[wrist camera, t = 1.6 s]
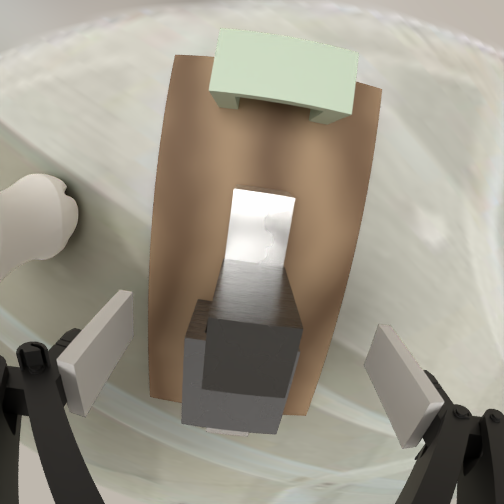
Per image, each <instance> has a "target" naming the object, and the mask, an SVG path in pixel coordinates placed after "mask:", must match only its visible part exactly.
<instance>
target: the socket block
mask: <svg viewBox="0 0 504 504" xmlns="http://www.w3.org/2000/svg"><path fill="white" fill-rule="evenodd" d="M358 56H359V53H358V52H354V51H351V50H347V49H343V48H339V47H335V46H331V45H327V44H323V43H318V42H314V41H309V40H304V39H299V38H294V37H288V36H282V35H276V34H270V33H263V32H255V31H246V30H237V29H226V28H220V32H219V37H218V42H217V47H216V52H215V58H214V63H213V68H212V74H211V79H210V85H209V92H210V94H211V95H212V97H213V99H214V100H215V102H216V103H217V105H218V107H220V108H229V109H237V110H238V107H239V100H240V97H242V98H250V99H257V100H264V101H271V102H277V103H283V104H288V105H294V106H299V107H305V108H310V116H309V121H311V122H316V123H321V124H326V125H328V124H330V123H332V122H335V121H337V120H340V119H342V118H345V117H347V116H350V115H352V109H353V101H354V93H355V84H356V75H357V66H358Z"/></svg>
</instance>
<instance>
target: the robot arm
mask: <svg viewBox="0 0 504 504" xmlns="http://www.w3.org/2000/svg"><path fill="white" fill-rule="evenodd" d="M133 337H134V329H133V292H131V291H126V290H119V291H118V292H117V293H116V294H115V295H114V296H113V297H112V298H111V299H110V300H109V301H108V302H107V303H106V305H105V306H104V307H103V308H102V309H101V310H100V311H99V312H98V313H97V314H96V315H95V316H94V318H93V319H92V320H91V321H90V322H89V323H88V324H87V325H86V326H85V327H84V329H83V330H80V329H76V328H74V329H72V330H70V331H68V332H66V333H65V334H64V335H63V336H62V337H61V338H60V340H58V341H57V342H56V345H54V346H53V347H52V348H51V349H50V350H49V351H48V349H47V347H46V346H45V345H44V344H42V343H39V342H27V343H24V344H22V345H21V346H19V348H18V349H17V352H16V355H17V358H18V362H19V366H20V367H12V366H7V363H6V360H5V359H4V357H2V356H1V355H0V504H19V499H18V498H19V496H18V461H19V460H18V459H19V441H20V428H21V417H22V415H24V416H29V418H30V423H31V427H32V431H33V435H34V439H35V443H36V447H37V450H38V454H39V457H40V460H41V464H42V467H43V470H44V473H45V476H46V479H47V482H48V485H49V488H50V490H51V493H52V496H53V498H54V501H55V504H105V503H104V501H103V499H102V497H101V495H100V494H99V491H98V490H97V487H96V485H95V483H94V481H93V479H92V477H91V475H90V473H89V471H88V469H87V466H86V464H85V462H84V460H83V457H82V455H81V453H80V450H79V448H78V445H77V443H76V440H75V438H74V435H73V433H72V430H71V427H70V425H69V422H68V419H67V416H66V413H65V410H64V406H65V404H66V403H67V405H68V408H69V412H71V413H74V414H77V415H80V416H83V417H86V416H87V414H88V412H89V410H90V409H91V407H92V405H93V403H94V402H95V400H96V398H97V397H98V395H99V393H100V391H101V390H102V388H103V386H104V385H105V383H106V381H107V380H108V378H109V376H110V375H111V373H112V371H113V370H114V368H115V366H116V365H117V363H118V361H119V360H120V358H121V356H122V355H123V353H124V351H125V350H126V348H127V347H128V345H129V343H130V342H131V340H132V339H133ZM364 367H365V369H366V371H367V373H368V375H369V377H370V379H371V381H372V383H373V385H374V388H375V390H376V392H377V394H378V396H379V398H380V400H381V403H382V405H383V407H384V409H385V411H386V413H387V416H388V418H389V420H390V422H391V424H392V427H393V429H394V431H395V433H396V436H397V438H398V440H399V442H400V445H401V447H402V449H404V448H411V447H416V446H417V445H418V444H419V442H420V441H421V439H422V438H423V439H424V441H425V445H424V446H423V448H422V449H421V451H420V452H419V453H418V455H417V456H416V457H415V460H417V461H416V463H415V465H414V467H413V470H412V472H411V474H410V476H409V478H408V480H407V482H406V484H405V486H404V488H403V490H402V492H401V494H400V496H399V498H398V499H397V501H396V503H395V504H450V502H451V499H452V496H453V493H454V490H455V487H456V484H457V504H504V415H503V414H502V412H500V411H499V410H495V409H488V410H486V412H485V413H484V415H483V416H482V417H477V416H472V414H471V413H470V411H469V410H468V409H467V408H465V407H464V406H461V405H458V404H453V403H452V401H451V400H450V398H449V397H448V396H447V394H446V393H445V391H444V390H443V389H442V387H441V386H440V384H438V381H437V380H436V379H435V377H434V376H433V375H432V374H431V373H429V372H428V371H427V370H423V369H422V368H421V367H420V365H419V364H418V362H417V361H416V360H415V358H414V357H413V355H412V354H411V353H410V351H409V350H408V348H407V347H406V346H405V344H404V343H403V342H402V340H401V339H400V337H399V336H398V335H397V333H396V332H395V331H394V329H393V328H392V327H391V325H383V324H378V327H377V330H376V333H375V336H374V339H373V341H372V344H371V347H370V350H369V353H368V355H367V358H366V361H365V363H364Z"/></svg>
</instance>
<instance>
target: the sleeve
mask: <svg viewBox="0 0 504 504" xmlns="http://www.w3.org/2000/svg"><path fill="white" fill-rule="evenodd" d="M211 304H212V301H208V300H201V299H198V300H197V303H196V306H195V309H194V312H193V315H192V317H191V320H190V323H189V326H188V329H187V332H186V335H185V340H184V359H183V384H182V424H187V425H193V426H200V427H206V428H214V429H222V430H230V431H240V432H250V433H263V434H277V430H278V427H279V424H280V421H281V418H282V414H283V411H284V408H285V404H286V401H287V398H288V394H289V391H290V387H291V384H292V380H293V377H294V373H295V370H296V366H297V363H298V359H299V355H300V348H299V349H298V353H297V356H296V360H295V364H294V367H293V371H292V375H291V378H290V382H289V386H288V389H287V393H286V396H285V398H276V397H263V396H253V395H243V394H234V393H226V392H218V391H211V390H204V389H202V379H203V367H204V356H205V345H206V334H207V324H208V316H209V312H210V308H211Z"/></svg>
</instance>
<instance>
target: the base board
mask: <svg viewBox="0 0 504 504" xmlns="http://www.w3.org/2000/svg"><path fill="white" fill-rule="evenodd" d="M214 58H215V57H208V56H192V55H175V58H174V63H173V68H172V73H171V79H170V84H169V90H168V95H167V101H166V107H165V113H164V120H163V127H162V134H161V141H160V148H159V156H158V165H157V173H156V183H155V193H154V204H153V216H152V229H151V245H150V264H149V295H148V353H149V383H150V397H153V398H158V399H163V400H169V401H174V402H180V403H182V384H183V359H184V340H185V335H186V332H187V329H188V326H189V323H190V320H191V317H192V315H193V312H194V309H195V306H196V303H197V300H198V299H201V300H208V301H212V300H213V296H214V292H215V288H216V284H217V280H218V276H219V273H220V269H221V265H222V261H223V258H224V259H225V253H226V245H227V237H228V230H229V222H230V215H231V207H232V200H233V193H234V188H235V186H236V184H239V185H246V186H253V187H260V188H267V189H273V190H280V191H286V192H289V193H290V194H291V195H292V196H294V197H295V203H294V209H293V215H292V220H291V226H290V232H289V237H288V243H287V248H286V254H285V259H284V265H283V267H285V270H286V273H287V276H288V279H289V283H290V286H291V289H292V292H293V296H294V299H295V302H296V305H297V309H298V312H299V315H300V319H301V322H302V325H303V333H302V337H301V341H300V345H299V348H300V355H299V359H298V363H297V366H296V370H295V373H294V377H293V380H292V384H291V387H290V391H289V394H288V398H287V401H286V404H285V408H284V411H283V414H282V415H303V416H306V414H307V411H308V409H309V406H310V403H311V400H312V397H313V395H314V392H315V389H316V386H317V383H318V380H319V377H320V374H321V371H322V368H323V365H324V362H325V358H326V355H327V352H328V349H329V346H330V342H331V339H332V336H333V332H334V329H335V325H336V322H337V318H338V315H339V311H340V308H341V304H342V300H343V297H344V293H345V289H346V285H347V281H348V277H349V273H350V269H351V265H352V261H353V257H354V252H355V248H356V244H357V239H358V235H359V230H360V225H361V221H362V216H363V211H364V206H365V201H366V195H367V190H368V184H369V179H370V173H371V167H372V161H373V155H374V148H375V141H376V134H377V127H378V120H379V111H380V103H381V94H382V89H380V88H376V87H373V86H370V85H366V84H363V83H359V82H356V84H355V93H354V101H353V109H352V115H350V116H347V117H345V118H342V119H340V120H337V121H335V122H332V123H330V124H328V125H326V124H321V123H316V122H311V121H309V116H310V108H305V107H299V106H294V105H288V104H283V103H277V102H271V101H264V100H257V99H250V98H242V97H240V100H239V107H238V110H237V109H229V108H220V107H218V105H217V103H216V102H215V100H214V99H213V97H212V95H211V94H210V92H209V85H210V79H211V74H212V68H213V63H214Z"/></svg>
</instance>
